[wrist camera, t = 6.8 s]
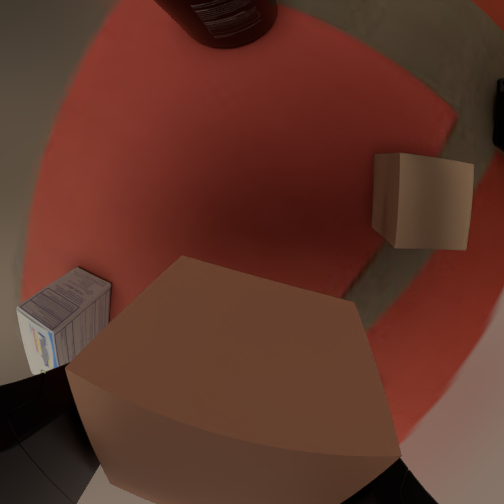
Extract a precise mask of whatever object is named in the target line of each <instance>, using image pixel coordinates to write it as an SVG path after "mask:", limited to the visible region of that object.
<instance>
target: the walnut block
mask: <svg viewBox="0 0 504 504" xmlns="http://www.w3.org/2000/svg"><path fill="white" fill-rule="evenodd" d="M473 178H474V164H469V163H464V162H459V161H453V160H447V159H441V158H435V157H429V156H422V155H414V154H406V153H384V154H374V182H373V208H372V224H371V227H372V228H373V229H374V230H375V231H376V232H377V233H379V234H380V235H381V236H382V237H383V238H384V239H385V240H386V241H387V242H388V243H389V244H390V245H391V246H392V247H394V248H400V249H441V250H466V246H467V240H468V233H469V226H470V217H471V208H472V196H473Z"/></svg>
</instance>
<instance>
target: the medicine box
mask: <svg viewBox="0 0 504 504" xmlns="http://www.w3.org/2000/svg"><path fill="white" fill-rule="evenodd" d="M110 290H111V283H109V282H107V281H105V280H103V279H100V278H98V277H96V276H94V275H92V274H90V273H88V272H86V271H84V270H82V269H80V268H78V267H76V268H74V269H73V270H71V271H70V272H68V273H67V274H65V275H64V276H62V277H60V278H59V279H57V280H56V281H54V282H53V283H51V284H50V285H48V286H47V287H45V288H44V289H42V290H41V291H39V292H38V293H36V294H35V295H33V296H32V297H30V298H29V299H27V300H26V301H25V302H23V303H22V304H20V305H19V306H18V307H17V315H18V320H19V326H20V330H21V335H22V340H23V344H24V348H25V352H26V355H27V359H28V362H29V366H30V369H31V372H32V373H33V374H34V375H37V374H40V373H43V372H44V373H45V372H46V371H48V370H51V369H54V368H56V367H59V366H61V365H64V364H67V363H69V362H71V361H72V360H73V359H74V358H75V357H76V356H77V355H78V354H79V353H80V352H81V351H82V350H83V349H84V348H85V347H86V346H87V345H88V344H89V343H90V342H91V341H92V340H93V339H94V338H95V337H96V336H97V335H98V334H99V333H100V332H101V331H102V330H103V329H104V328H105V327H106V326H107V325H108V324H109V306H110Z"/></svg>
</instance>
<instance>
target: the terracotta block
mask: <svg viewBox="0 0 504 504" xmlns="http://www.w3.org/2000/svg"><path fill="white" fill-rule="evenodd" d="M65 371H66V374H67V378H68V381H69V385H70V388H71V391H72V394H73V397H74V400H75V403H76V406H77V409H78V412H79V415H80V417H81V420H82V423H83V425H84V428H85V430H86V433H87V435H88V438H89V440H90V442H91V445H92V447H93V449H94V451H95V454H96V456H97V458H98V460H99V462H100V464H101V466H102V468H103V470H104V472H105V474H106V476H107V478H108V480H109V482H110V483H111V484H112V485H114V486H117V487H119V488H121V489H123V490H125V491H127V492H129V493H132V494H134V495H136V496H139V497H141V498H144V499H146V500H149V501H151V502H154V503H156V504H340V503H342V502H343V501H345V500H346V499H348V498H349V497H351V496H352V495H354V494H355V493H356V492H358V491H359V490H360V489H362V488H363V487H365V486H366V485H367V484H369V483H370V482H371V481H372V480H374V479H375V478H376V477H377V476H379V475H380V474H381V473H382V472H384V471H385V470H386V469H387V468H388V467H390V466H391V465H392V464H393V463H394V462H395V461H396V460H398V459H399V458H400V457H401V451H400V447H399V443H398V439H397V435H396V431H395V427H394V423H393V420H392V416H391V412H390V409H389V405H388V402H387V398H386V395H385V391H384V388H383V385H382V381H381V378H380V375H379V372H378V369H377V366H376V362H375V359H374V356H373V353H372V350H371V347H370V344H369V342H368V339H367V336H366V333H365V330H364V327H363V325H362V322H361V319H360V316H359V314H358V311H357V308H356V306H355V303H354V302H352V301H348V300H344V299H340V298H336V297H333V296H329V295H325V294H321V293H317V292H313V291H309V290H306V289H302V288H298V287H294V286H290V285H287V284H283V283H279V282H276V281H272V280H268V279H264V278H261V277H257V276H254V275H250V274H246V273H243V272H239V271H235V270H232V269H228V268H225V267H221V266H218V265H214V264H211V263H207V262H204V261H200V260H197V259H193V258H190V257H186V256H183V255H182V256H180V257H179V258H178V259H177V260H176V261H175V262H174V263H173V264H172V265H170V266H169V267H168V268H167V269H166V270H165V271H164V272H163V273H162V274H161V275H159V276H158V277H157V278H156V279H155V280H154V281H153V282H152V283H151V284H150V285H149V286H148V287H147V288H145V289H144V290H143V291H142V292H141V293H140V294H139V295H138V296H137V297H136V298H135V299H134V300H133V301H132V302H131V303H130V304H128V305H127V306H126V307H125V308H124V309H123V310H122V311H121V312H120V313H119V314H118V315H117V316H116V317H115V318H114V319H113V320H112V321H111V322H110V323H109V324H108V325H107V326H106V327H105V328H104V329H103V330H102V331H101V332H100V333H99V334H98V335H97V336H96V337H95V338H94V339H93V340H92V341H91V342H90V343H89V344H88V345H87V346H86V347H85V348H84V349H83V350H82V351H81V352H80V353H79V354H78V355H77V356H76V357H75V358H74V359H73V360H72V361H71V362H70V363H69V364H68V365H67V366H66V367H65Z"/></svg>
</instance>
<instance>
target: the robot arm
mask: <svg viewBox="0 0 504 504" xmlns="http://www.w3.org/2000/svg"><path fill="white" fill-rule="evenodd" d="M503 84H504V78H501V79H499V80H498V96H497V111H496V121H495V130H494V138H493V141H494V144H495V145H496V146H497V147H498V148H500V149H501V150H502V151H504V85H503ZM498 139H499V142H498ZM69 363H70V362H69ZM69 363H67V364H64V365H61V366H59V367H56V368H54V369H51V370H48V371H46V372H45V373H44V372H43V373H40V374H37V375H35V376H32V377H29V378H26V379H23V380H20V381H17V382H13V383H9V384H5V385H1V386H0V504H77V502H78V500H79V499H80V497H81V495H82V494H83V492H84V490H85V489H86V487H87V485H88V484H89V482H90V480H91V479H92V477H93V475H94V474H95V472H96V470H97V469H98V467H99V465H100V462H99V460H98V458H97V456H96V454H95V451H94V449H93V447H92V445H91V442H90V440H89V438H88V435H87V433H86V430H85V428H84V425H83V423H82V420H81V417H80V415H79V412H78V409H77V406H76V403H75V400H74V397H73V394H72V391H71V388H70V385H69V381H68V378H67V374H66V371H65V367H66V366H67V365H68V364H69ZM340 504H438V503H437V502H436V501H435V499H434V498H433V497H432V496H431V495H430V494H429V493H428V492H427V491H426V490H425V489H424V487H423V486H422V485H421V484H420V483H419V481H418V480H417V479H416V478H415V476H414V475H413V474H412V472H411V471H410V470H408V467H407V466H406V465H405V463H404V462H403V461H402V460H401V458H399V459H398V460H396V461H395V462H394V463H393V464H392V465H391V466H390V467H388V468H387V469H386V470H385V471H384V472H382V473H381V474H380V475H379V476H377V477H376V478H375V479H374V480H372V481H371V482H370V483H369V484H367V485H366V486H365V487H363V488H362V489H360V490H359V491H358V492H356V493H355V494H354V495H352V496H351V497H349V498H348V499H346V500H345V501H343V502H342V503H340Z"/></svg>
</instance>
